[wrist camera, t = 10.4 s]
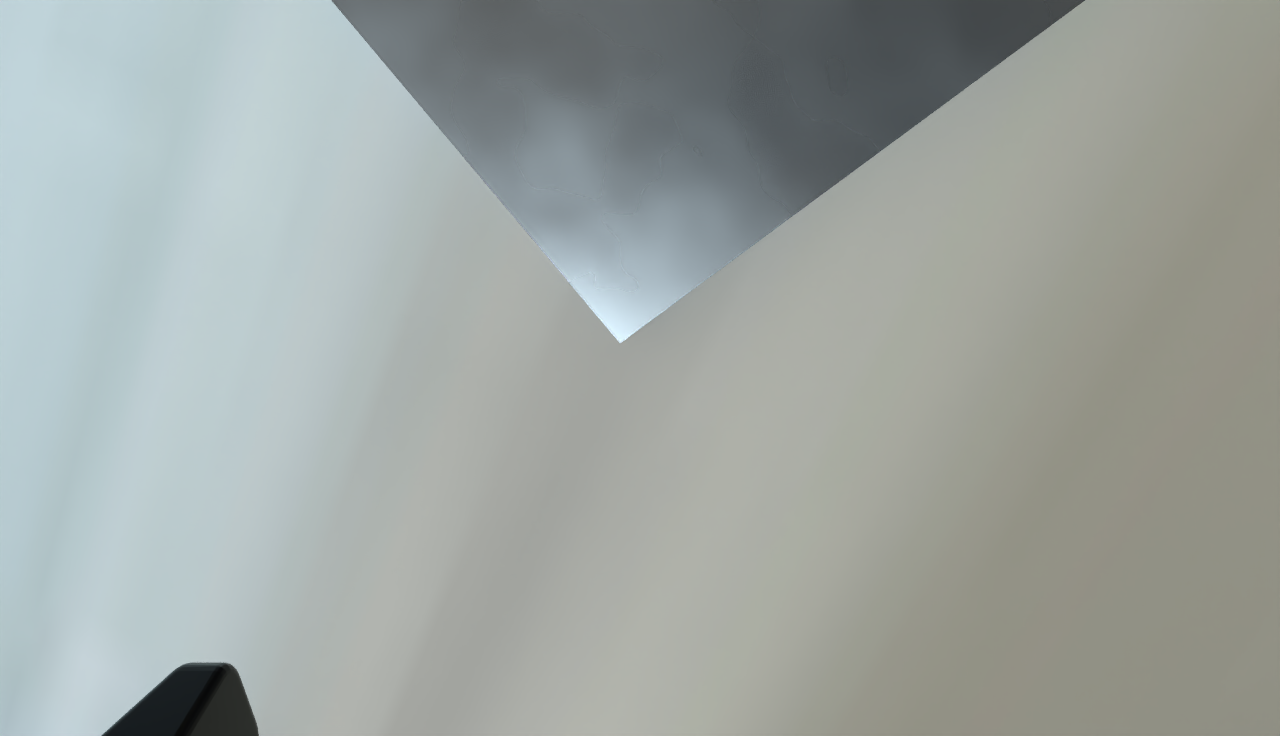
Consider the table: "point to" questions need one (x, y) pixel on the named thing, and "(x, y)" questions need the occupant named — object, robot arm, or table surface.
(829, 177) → the grey piece
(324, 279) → the table surface
